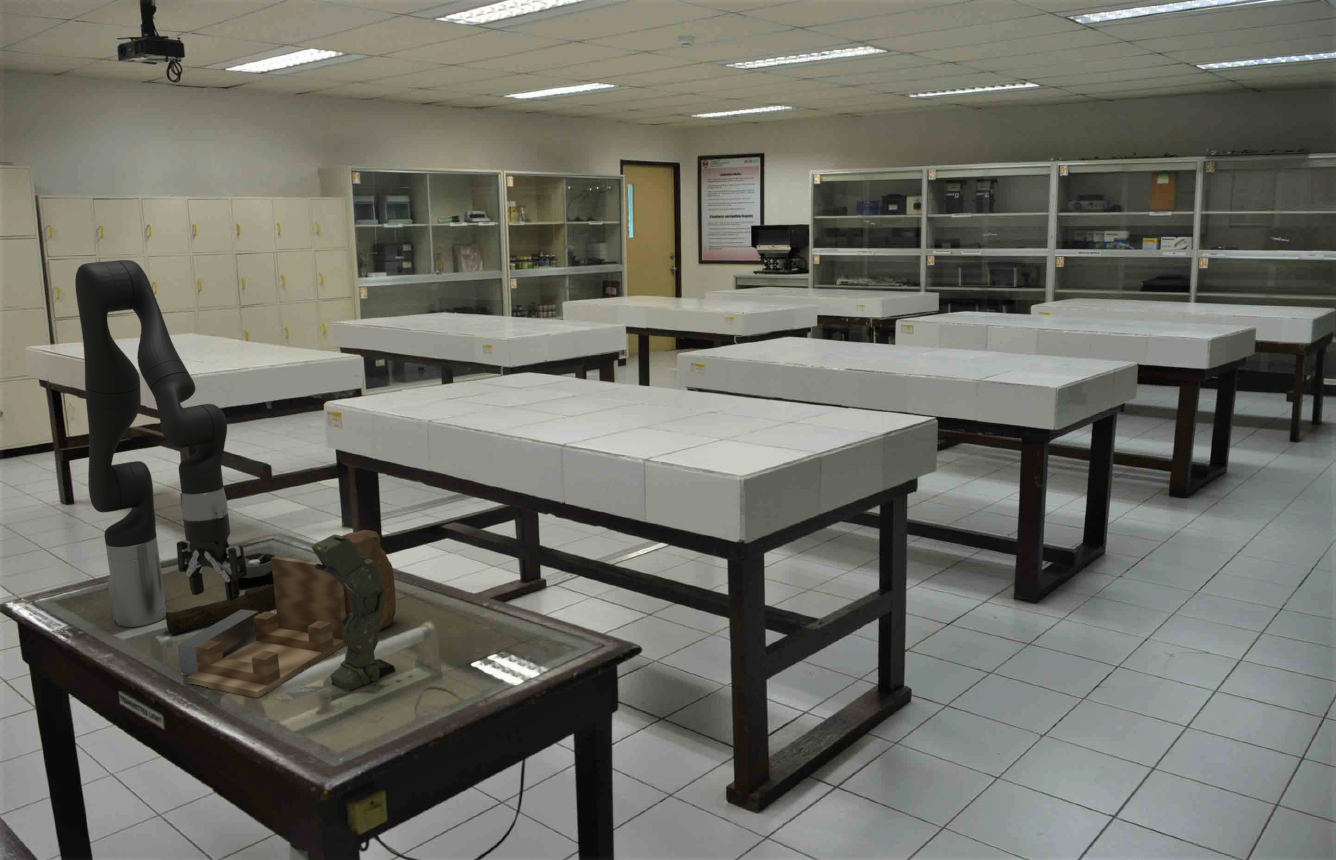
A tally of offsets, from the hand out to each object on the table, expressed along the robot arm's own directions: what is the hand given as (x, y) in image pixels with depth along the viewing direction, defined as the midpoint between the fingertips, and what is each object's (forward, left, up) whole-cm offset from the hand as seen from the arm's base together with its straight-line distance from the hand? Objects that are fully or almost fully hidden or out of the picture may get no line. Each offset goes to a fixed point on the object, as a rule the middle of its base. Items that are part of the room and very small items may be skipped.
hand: (215, 596), depth 180 cm
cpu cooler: (-24, +33, -13) cm, 43 cm away
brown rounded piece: (+18, +20, -12) cm, 30 cm away
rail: (0, 0, -12) cm, 12 cm away
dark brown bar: (-13, +14, -13) cm, 23 cm away
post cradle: (+11, 0, -12) cm, 16 cm away
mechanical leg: (+31, +1, -12) cm, 33 cm away
